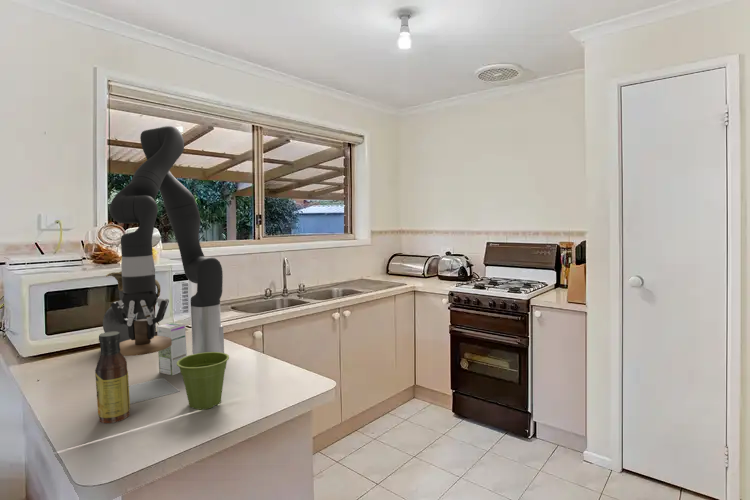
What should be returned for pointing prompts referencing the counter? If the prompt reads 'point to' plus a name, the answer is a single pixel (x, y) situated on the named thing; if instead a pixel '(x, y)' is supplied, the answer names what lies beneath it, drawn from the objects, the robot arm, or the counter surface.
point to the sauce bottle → (112, 380)
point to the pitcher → (110, 318)
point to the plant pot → (203, 378)
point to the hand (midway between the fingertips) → (142, 338)
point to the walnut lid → (143, 341)
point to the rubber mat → (150, 390)
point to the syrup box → (172, 347)
